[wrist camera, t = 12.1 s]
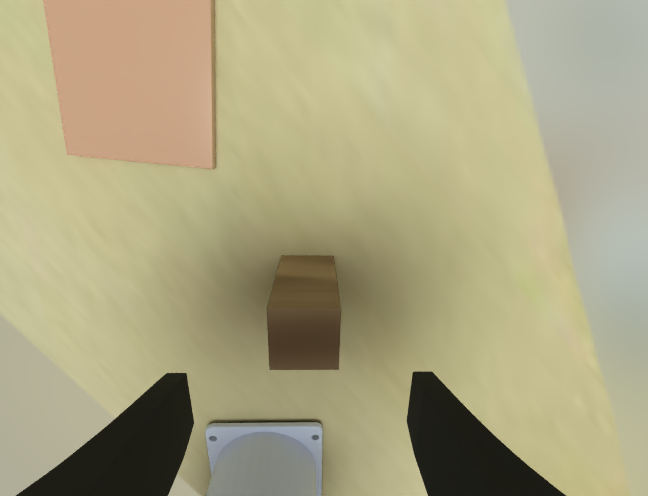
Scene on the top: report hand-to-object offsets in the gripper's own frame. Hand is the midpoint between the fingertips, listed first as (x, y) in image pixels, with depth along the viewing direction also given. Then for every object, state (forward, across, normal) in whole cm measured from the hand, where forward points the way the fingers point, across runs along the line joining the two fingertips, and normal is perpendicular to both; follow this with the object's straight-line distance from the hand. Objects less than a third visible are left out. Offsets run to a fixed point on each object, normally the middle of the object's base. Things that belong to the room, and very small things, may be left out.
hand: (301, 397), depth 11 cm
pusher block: (+9, 0, 0) cm, 9 cm away
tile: (+9, +8, -6) cm, 14 cm away
